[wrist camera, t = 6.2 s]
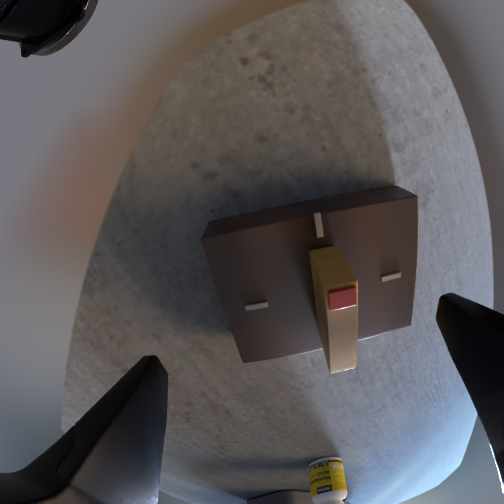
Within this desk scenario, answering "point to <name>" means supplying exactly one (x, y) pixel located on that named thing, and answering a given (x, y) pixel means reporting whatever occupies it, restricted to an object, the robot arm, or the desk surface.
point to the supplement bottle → (327, 481)
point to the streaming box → (284, 498)
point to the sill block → (299, 268)
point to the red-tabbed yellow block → (335, 307)
